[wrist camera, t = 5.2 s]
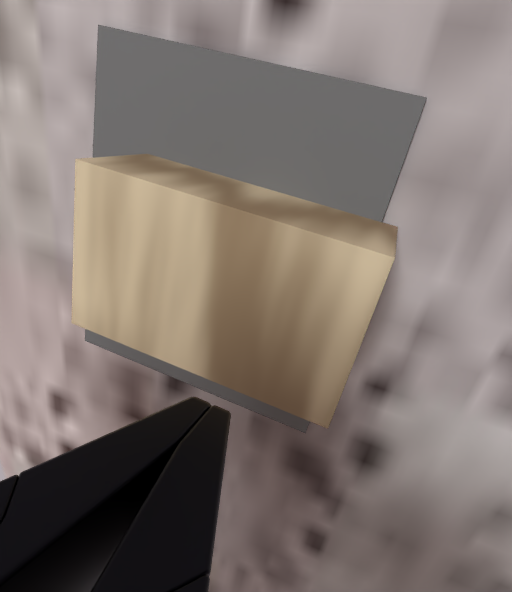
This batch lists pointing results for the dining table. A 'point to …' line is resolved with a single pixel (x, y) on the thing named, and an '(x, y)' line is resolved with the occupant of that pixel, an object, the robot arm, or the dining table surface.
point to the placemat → (249, 138)
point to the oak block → (226, 278)
